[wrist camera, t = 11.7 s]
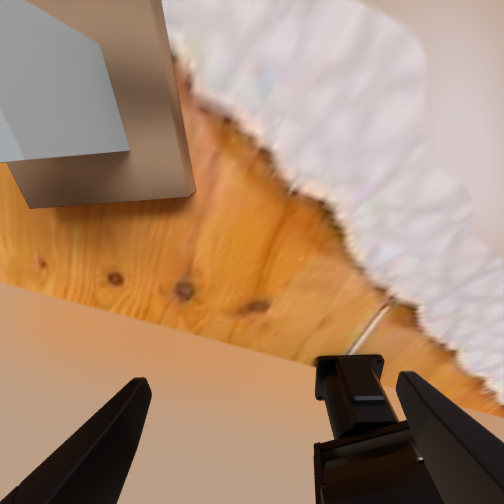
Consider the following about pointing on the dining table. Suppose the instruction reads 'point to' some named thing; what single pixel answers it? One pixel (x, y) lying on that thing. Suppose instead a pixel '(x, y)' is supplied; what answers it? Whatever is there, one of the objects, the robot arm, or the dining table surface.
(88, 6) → the walnut plinth
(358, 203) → the dining table surface
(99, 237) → the dining table surface
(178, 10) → the dining table surface
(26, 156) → the slate block
